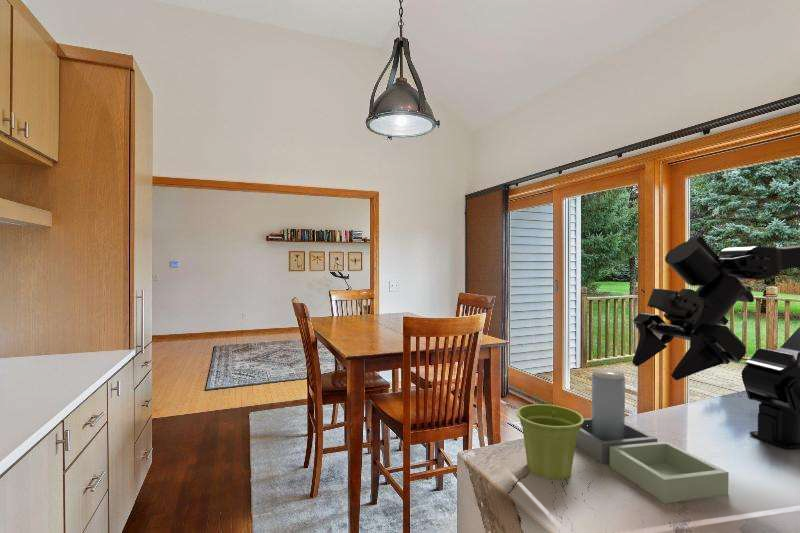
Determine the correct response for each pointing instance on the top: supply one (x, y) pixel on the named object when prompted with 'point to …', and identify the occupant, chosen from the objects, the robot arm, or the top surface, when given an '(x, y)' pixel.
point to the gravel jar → (608, 404)
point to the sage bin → (669, 471)
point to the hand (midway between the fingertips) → (652, 371)
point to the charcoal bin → (602, 448)
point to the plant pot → (550, 438)
